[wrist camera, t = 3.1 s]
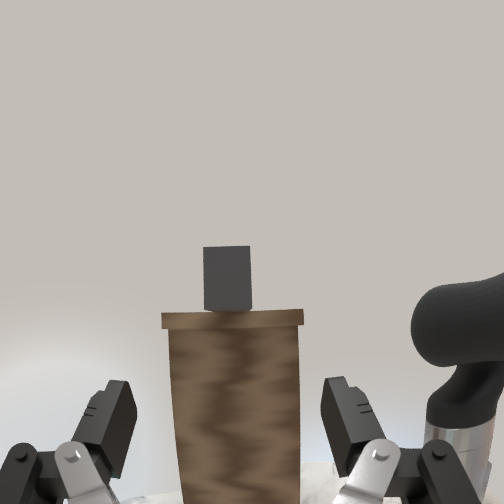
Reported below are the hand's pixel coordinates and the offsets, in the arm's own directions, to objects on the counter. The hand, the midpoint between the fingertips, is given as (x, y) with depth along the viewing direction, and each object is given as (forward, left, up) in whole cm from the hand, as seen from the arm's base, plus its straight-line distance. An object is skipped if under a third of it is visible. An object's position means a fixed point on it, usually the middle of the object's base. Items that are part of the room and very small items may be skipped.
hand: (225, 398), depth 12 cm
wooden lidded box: (0, -24, -28) cm, 37 cm away
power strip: (0, -19, +4) cm, 19 cm away
